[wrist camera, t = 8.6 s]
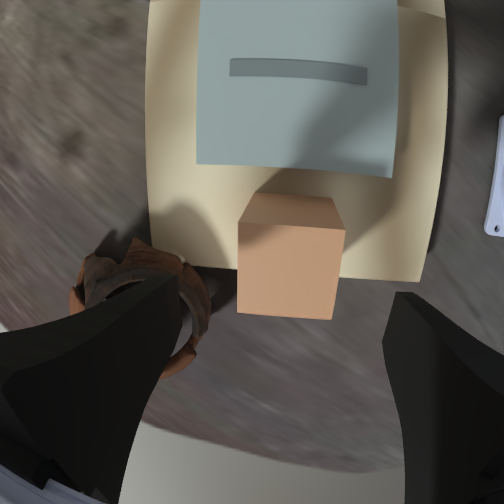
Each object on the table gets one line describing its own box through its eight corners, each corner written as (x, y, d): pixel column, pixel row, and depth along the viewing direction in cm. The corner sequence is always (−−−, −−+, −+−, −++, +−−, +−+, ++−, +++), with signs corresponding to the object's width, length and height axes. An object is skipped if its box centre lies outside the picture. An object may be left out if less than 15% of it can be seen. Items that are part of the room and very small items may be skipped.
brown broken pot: (86, 210, 21) (69, 238, 14) (206, 234, 25) (245, 269, 18) (71, 351, 23) (63, 419, 16) (175, 364, 27) (199, 428, 20)
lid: (388, 6, 11) (397, -4, 10) (383, 172, 15) (392, 178, 13) (209, -4, 12) (200, -15, 11) (205, 159, 16) (195, 164, 14)
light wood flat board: (414, -90, 9) (422, -103, 7) (409, 267, 19) (419, 282, 17) (178, -100, 10) (168, -113, 9) (165, 249, 21) (153, 261, 19)
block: (331, 197, 16) (345, 229, 12) (323, 268, 18) (331, 319, 13) (254, 192, 17) (237, 222, 12) (252, 262, 18) (237, 312, 14)
